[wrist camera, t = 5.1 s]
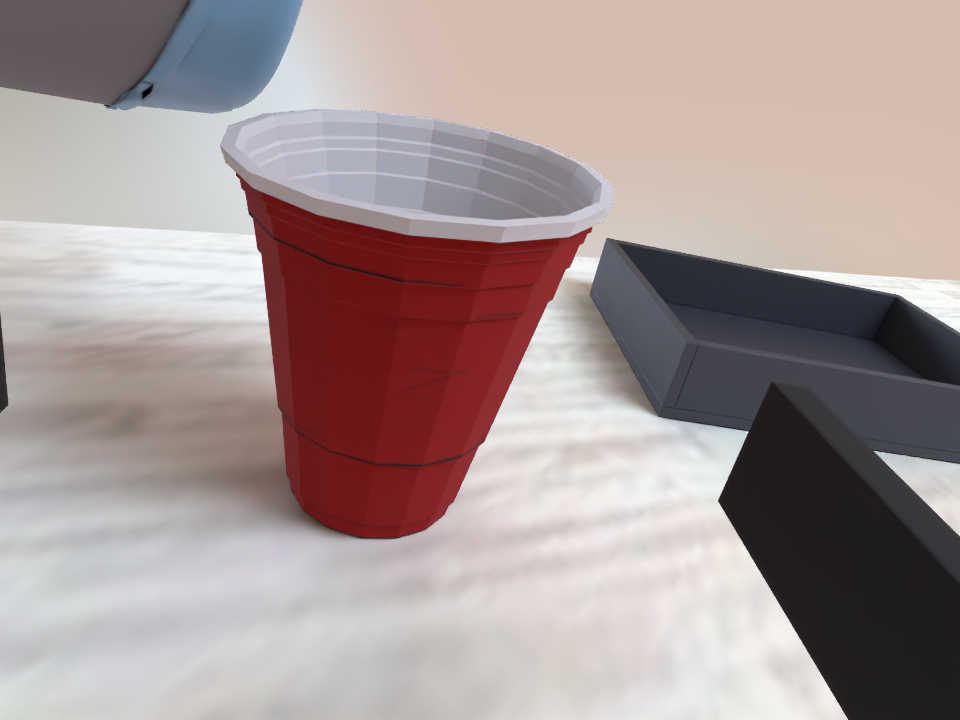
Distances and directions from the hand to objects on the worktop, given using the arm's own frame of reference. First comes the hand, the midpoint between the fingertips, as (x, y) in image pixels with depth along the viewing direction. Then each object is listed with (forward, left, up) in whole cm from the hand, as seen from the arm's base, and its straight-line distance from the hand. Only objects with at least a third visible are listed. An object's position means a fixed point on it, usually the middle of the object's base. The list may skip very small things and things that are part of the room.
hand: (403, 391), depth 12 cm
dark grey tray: (+18, +31, -9) cm, 37 cm away
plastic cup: (-2, +9, -10) cm, 14 cm away
